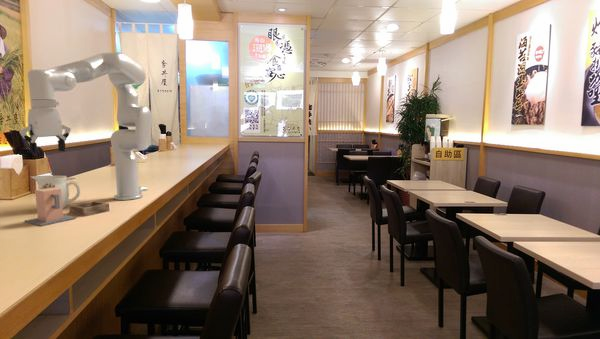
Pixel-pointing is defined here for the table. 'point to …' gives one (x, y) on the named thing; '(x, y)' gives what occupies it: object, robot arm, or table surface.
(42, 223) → the rubber mat
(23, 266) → the table surface
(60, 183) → the pitcher
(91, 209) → the frame
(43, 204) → the peach block with tab
